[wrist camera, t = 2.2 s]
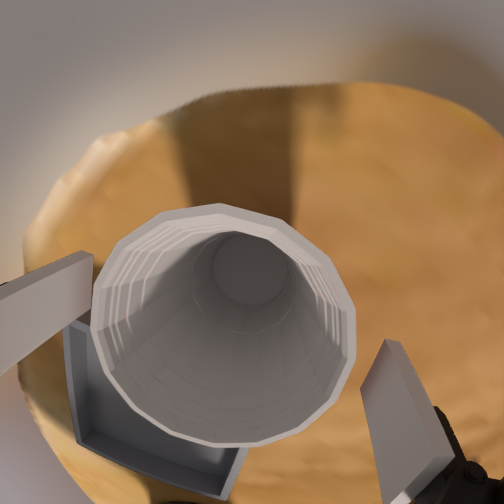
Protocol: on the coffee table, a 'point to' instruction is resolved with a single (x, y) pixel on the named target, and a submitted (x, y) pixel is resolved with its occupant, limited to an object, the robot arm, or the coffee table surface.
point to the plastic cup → (223, 326)
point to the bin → (137, 427)
